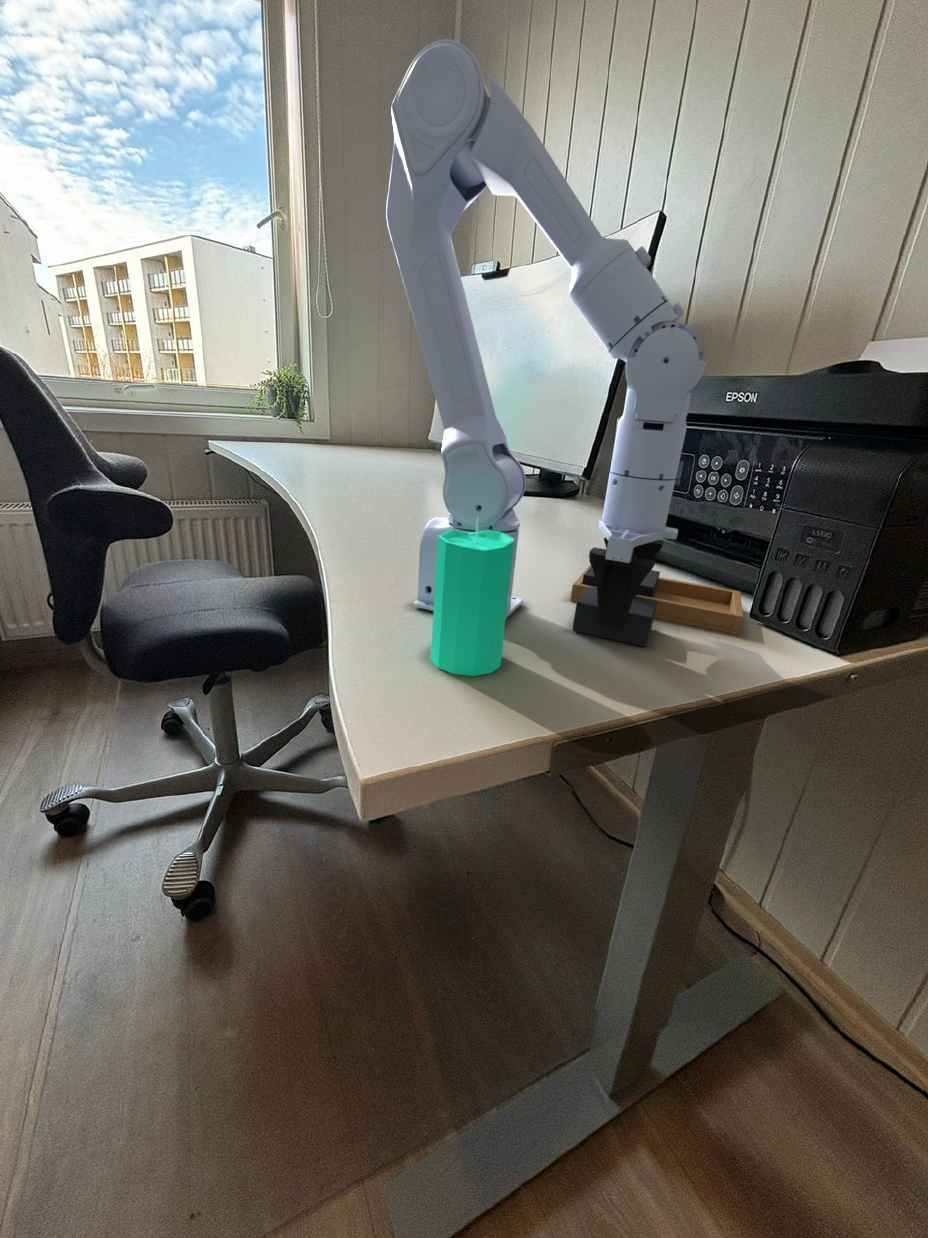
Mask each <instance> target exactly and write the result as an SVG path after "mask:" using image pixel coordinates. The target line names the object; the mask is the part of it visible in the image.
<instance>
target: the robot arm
mask: <svg viewBox="0 0 928 1238" xmlns="http://www.w3.org/2000/svg"><path fill="white" fill-rule="evenodd" d="M488 80H489V87H490V94H489V92H488V91H489V90H488V89H487V86H486V83H485V78H484V73H483V71H482V68H481V65H480V63H479V61H478V59H477V57H476V56H475V54H474V53H473V52H472V50H471V49H470V48H469V47H467V46H466V45H464V44H463V43H461V42H459V41H457V40H454V39H447V38H445V39H439V40H436V41H433V42H431V43H429V44H428V45H426V46H424V47H423V48H422V49H421V50H420V51H419V52H418V53H417V54H416V56H415V57H414V58H413V60H412V61H411V63H410V64H409V67H408V69H407V71H406V72H405V75H404V77H403V79H402V81H401V83H400V85H399V88H398V90H397V91H396V94H395V95H394V98H393V100H392V103H391V106H390V110H391V118H392V119H391V120H392V127H393V139H394V141H393V149H392V157H391V158H392V159H391V168H390V175H389V183H388V192H387V199H386V209H385V217H386V225H387V228H388V233H389V236H390V240H391V243H392V247H393V251H394V254H395V258H396V261H397V265H398V268H399V272H400V276H401V279H402V284H403V286H404V290H405V294H406V297H407V301H408V305H409V309H410V311H411V314H412V319H413V323H414V326H415V330H416V333H417V337H418V340H419V344H420V347H421V351H422V355H423V359H424V362H425V367H426V369H427V373H428V376H429V380H430V384H431V389H432V391H433V394H434V398H435V402H436V406H437V409H438V413H439V416H440V420H441V423H442V427H443V438H442V443H441V451H440V455H441V458H442V462H443V466H444V479H443V480H444V481H443V485H442V499H443V503H444V506H445V508H446V510H447V511H448V513H447V517H440V516H438V517H433V518H431V519H430V520H429V521H428V522H427V524H426V526H425V527H424V529H423V531H422V534H421V535H422V536H421V539H420V544H419V551H418V552H419V554H418V575H417V576H418V577H417V598H416V600H414V602H413V606H414V608H419V609H423V610H428V611H432V612H433V611H434V593H435V575H436V557H437V539H438V536H439V535H441V534H443V533H445V532H447V531H449V530H451V529H452V530H457V531H462V532H467V533H469V532H476V522H477V517H479V520H478V531H485V530H489V531H496V532H502V533H505V534H507V535H509V536H511V537H512V538H514V546H513V556H512V565H511V574H510V583H509V592H508V601H507V611H506V619H508V618H509V616H511V615H512V614H513V613H514V612H515V611H516V610H517V609H518V608H519V607H520V606H521V605H522V604H523V602H524V600H523V598H520V597H516V596H513V587H514V578H515V568H516V561H517V552H518V551H517V550H518V545H519V544H518V543H519V534H520V526H521V521H520V520H519V518H518V517H517V515H516V512H515V509H514V508H515V507H516V506H517V505H518V504H519V503H520V502H521V500H522V498H523V496H524V494H525V491H526V487H527V478H526V473H525V470H524V467H523V466H522V464H521V463H520V461H519V460H518V459H517V458H516V457H515V456H514V454H513V453H512V451H511V449H510V446H509V444H508V443H509V442H508V439H507V436H506V433H505V431H504V429H503V427H502V425H501V423H500V422H499V420H498V417H497V414H496V412H495V407H494V404H493V400H492V399H493V398H492V396H491V391H490V387H489V384H488V379H487V375H486V371H485V368H484V364H483V360H482V356H481V352H480V347H479V344H478V343H479V342H478V340H477V335H476V332H475V327H474V324H473V320H472V315H471V312H470V308H469V304H468V299H467V296H466V292H465V288H464V283H463V280H462V276H461V272H460V268H459V264H458V260H457V256H456V252H455V248H454V244H453V241H452V240H453V239H452V234H453V231H454V229H455V228H456V226H457V224H458V222H459V220H460V218H461V216H462V215H463V213H464V211H465V210H466V209H467V208H469V206H470V205H471V204H472V203H473V202H474V201H475V200H476V199H477V198H479V196H480V195H481V194H482V193H483V192H484V191H485V190H486V189H487V188H488V190H489V191H490V193H491V194H492V195H494V196H498V197H499V196H503V197H515V198H516V199H517V200H518V201H519V203H520V204H521V205H522V206H523V208H524V209H525V211H527V213H528V214H529V216H530V217H531V218H532V220H533V221H534V222H535V223H536V225H537V226H538V228H539V229H540V230H541V232H542V233H543V234H544V236H545V237H546V238H547V239H548V240H549V242H550V243H551V245H552V246H553V248H555V250H556V251H557V253H558V254H559V255H560V256H561V258H562V259H563V261H564V262H565V263H566V264H567V266H568V267H569V269H570V270H571V279H570V284H569V291H568V297H569V299H570V301H571V302H572V304H573V305H574V306H575V307H576V309H577V310H578V312H579V313H580V315H581V316H582V318H583V319H584V320H585V322H586V323H587V325H588V326H589V327H590V329H591V331H593V333H594V334H595V335H596V337H597V339H598V340H599V342H600V343H601V344H602V346H603V347H604V348H605V350H606V351H607V353H608V354H609V355H610V357H611V358H612V359H618V360H622V361H623V362H625V371H624V372H625V381H626V383H627V385H628V387H629V388H628V389H627V391H626V396H625V402H624V408H623V413H622V416H621V417H620V418H619V419H618V422H617V427H616V433H615V434H616V435H615V440H614V446H613V450H612V451H613V452H612V457H611V464H610V470H609V475H608V480H607V486H606V493H605V497H604V498H605V499H604V503H603V510H602V515H601V519H599V520H598V526H597V528H598V530H599V531H600V533H601V534H602V535H603V536H604V538H603V541H604V544H605V548H601V547H592V548H591V549H590V550H589V552H588V560H589V561H588V562H589V565H591V566H592V569H593V572H594V576H595V580H596V586H597V606H598V621H599V625H602V626H606V627H611V628H616V629H621V628H622V626H623V624H624V622H625V620H626V618H627V615H628V613H629V610H630V607H631V605H632V602H633V599H634V597H635V596H636V595H637V592H638V590H639V587H640V584H641V583H642V581H643V580H644V578H645V577H646V576H647V575H648V573H649V572H650V571H651V570H653V569H654V567H655V565H656V563H657V562H656V560H654V559H655V557H656V556H657V555H658V554H659V552H660V551H661V550H662V549H663V545H664V541H663V540H664V539H667V540H677V538H678V534H679V529H678V528H675V527H668V526H667V521H668V516H669V512H670V507H671V503H672V502H671V501H672V497H673V492H674V488H675V484H676V479H677V474H678V471H679V465H680V460H681V457H682V456H681V455H682V452H683V447H684V441H685V438H686V433H687V428H688V425H687V422H686V420H687V417H688V414H689V412H690V409H691V404H692V403H691V397H692V393H691V392H690V391H692V390H693V389H694V388H695V386H696V385H697V384H698V383H699V381H700V380H701V378H702V377H703V375H704V373H705V370H706V366H707V362H706V361H705V355H704V354H705V353H704V352H705V348H704V344H703V342H702V341H703V340H702V339H701V337H700V336H699V334H698V333H697V331H695V329H694V328H692V327H690V326H689V325H688V324H683V323H681V322H679V321H678V320H680V318H682V316H683V315H684V314H685V309H684V308H683V306H682V305H681V304H680V302H676V303H675V304H672V303H671V301H670V300H669V298H668V297H667V295H666V294H665V293H664V291H663V290H662V288H661V287H660V286H659V284H658V282H657V280H655V278H654V277H653V275H652V273H651V271H650V270H648V267H649V266H650V265H651V260H652V257H651V256H650V254H649V253H648V251H647V250H646V248H645V247H644V246H643V245H642V246H640V247H638V248H637V249H636V250H635V249H634V247H633V246H632V244H631V243H630V242H629V241H628V240H627V239H623V238H622V239H621V238H609V237H608V238H606V237H603V236H602V234H601V233H600V231H599V229H598V228H597V227H596V225H595V223H594V222H593V220H592V219H591V217H590V215H589V214H588V212H587V211H586V210H585V208H584V206H583V205H582V203H581V202H580V200H579V198H578V197H577V195H576V194H575V192H574V190H573V189H572V187H571V186H570V184H569V183H568V181H567V180H566V178H565V176H564V174H563V173H562V172H561V170H560V169H559V167H558V165H557V164H556V163H555V161H554V159H553V157H552V156H551V155H550V153H549V151H548V150H547V148H546V147H545V145H544V143H543V142H542V141H541V139H540V137H539V135H538V134H537V133H536V131H535V129H534V128H533V126H532V125H531V124H530V123H529V121H528V120H527V119H526V117H525V116H524V115H523V113H522V112H521V111H520V109H519V108H518V107H517V105H516V104H515V102H514V101H513V100H512V99H511V97H510V96H509V95H508V93H507V92H506V91H505V90H504V88H503V87H502V86H501V85H500V84H499V83H498V82H497V81H496V80H495V79H494V78H493V77H492V76H491V75H489V76H488Z"/></svg>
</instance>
